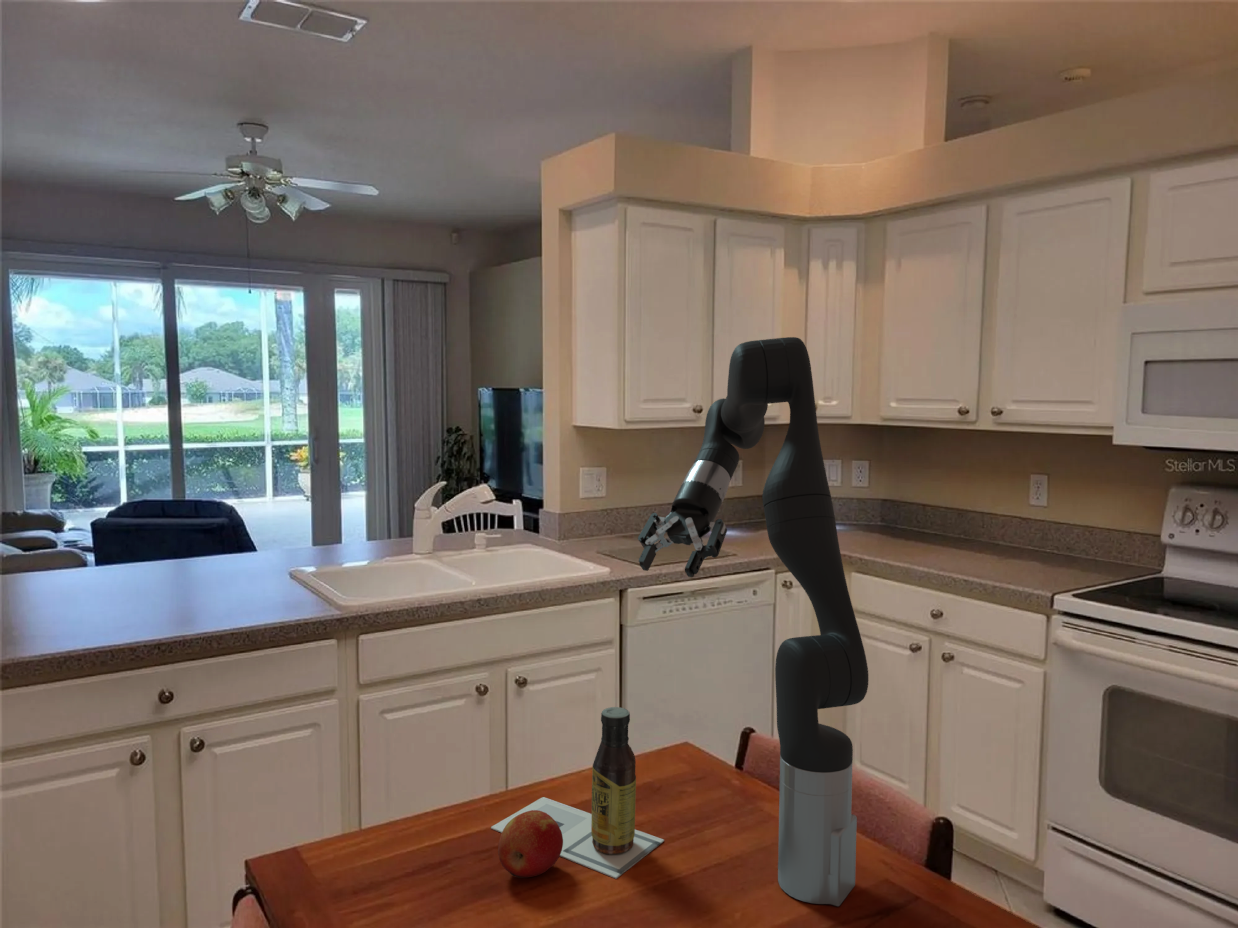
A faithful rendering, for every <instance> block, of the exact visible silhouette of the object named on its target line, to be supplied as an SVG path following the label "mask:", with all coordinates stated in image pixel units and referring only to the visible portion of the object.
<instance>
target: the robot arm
mask: <svg viewBox="0 0 1238 928" xmlns="http://www.w3.org/2000/svg"><path fill="white" fill-rule="evenodd" d="M728 365H729V366H728V376H727V387H726V388H727V389H726V390H727V391H726V392H727V393H726V394H727V395H726V397H725V398H719V399H717V400H715V401H714V402H713V403H712V404H711V405H710V407H709V408H708V410H707V413H706V417H705V423H704V424H705V425H704V434H703V441H702V444H701V447H700V449H699V452H698V453H697V455H696V457H695V460H694V462H693V464H692V465H691V467H690V469H689V470H688V472H687V473H686V475H685V477H684V479H683V481H682V483H681V485H680V487H679V489H678V491H677V493H676V495H675V498H674V499H673V502H672V503H671V508H670V509H671V510H670V512H669V514H668V515H666V516H665V517H664V516H659V515H658V514H657V513H658V512H652V513H650V516H649V518H648V520H647V521H646V522H645V525H643V526H644V527H643V528H642V529H641V532H640V533H639V535H638V537H637V540H638V541H639V543H640V545H641V546H642V548H643V550H642V552H641V554H640V556H639V558H638V563H639V566H640V567H641V569H642V570H643V571H647V572H648V571H649V569H650V568H651V566H652V565H653V561H654V559H655V558H656V556H657V552H658V551H660V550H661V549H663V548H669V546H671V545H672V544H675V545H679V544H683V545H686V546H691V545H693V547H694V549H695V550H692V551H691V554H690V556H689V558H688V560H687V562H686V565H685V567H684V572H685V574H686V575H687V577H689V578H694V577H695V575H697V574H698V573H699V571H700V569H701V567H702V564H703V562H704V560H705V559H707V558H708V557H711V558H717V557H718V556H719V554H720V552H721V549H722V546H723V543H724V541H725V538H726V536H727V532H728V528H727V527H726V526H727V525H726V524H725V522H724V520H723V519H722V518H717V519H716V517H717V515H718V513H719V511H720V508H721V506H722V504H723V502H724V499H725V498H726V495H727V492H728V490H729V486H730V483H731V481H732V479H733V476H734V475H735V472H736V469H737V467H738V465H739V463H740V454H739V452H738V450H737V449H736V447H737V448H740V449H743V450H748V449H749V450H750V449H751V448H753V447H755V446H756V445H758V443H759V442H760V440H761V438H762V436H763V434H764V431H765V423H766V422H765V420H766V419H765V416H766V414H767V412H768V408H769V404H778V403H779V404H780V403H788V406H789V424H788V428H787V431H786V432H787V433H786V435H785V437H784V441H783V444H782V446H781V448H780V451H779V453H778V455H777V457H776V458H775V460H774V463H773V464H772V468H771V469H770V470H769V473H768V476H767V479H766V480H765V483H764V486H763V491H762V507H763V512H764V519H765V524H766V531H767V535H768V537H767V538H768V541H769V543H770V545H771V548H772V549H773V550H774V552H775V555H777V557H778V558H779V559H780V561H781V562H782V563H783V565H784V566H785V567H786V568H787V570H788V571H789V572H790V573H791V575H792V576H793V577H794V578H795V580H796V581H797V582H798V583H799V585H800V586H801V587H802V589H803V590H804V591H805V593H806V595H807V596H808V599H809V600H810V602H811V605H812V607H813V611H814V614H815V617H816V621H817V624H818V628H819V629H818V630H819V634H818V635H808V636H806V635H804V636H796V637H790V638H786V639H785V640H783V641H782V642H781V644H780V645H779V647H778V649H777V653H776V657H775V667H774V669H775V670H774V672H775V673H774V674H775V675H774V676H775V680H774V681H775V696H776V697H775V701H776V702H775V703H776V726H777V734H778V740H779V750H780V751H779V793H778V794H779V797H778V798H779V800H778V801H779V803H778V804H779V805H778V807H779V808H778V846H777V847H778V855H777V857H778V859H777V860H778V861H777V869H778V870H777V882H778V885H779V888H781V890H782V891H783V892H784V893H786V894H787V895H788V896H790V897H792V898H794V899H796V900H799V901H802V902H804V903H810V904H816V905H832V906H834V907H840V906H841V905H842V903H843V902H844V901H845V900H846V898H847V897H848V895H849V894H850V892H851V891H852V890H853V889H854V888H855V886H856V868H857V867H856V864H857V863H856V861H857V860H856V859H857V858H856V857H857V853H856V852H857V824H858V823H857V822H858V819H857V816H856V815H855V814H854V813H853V814H852V804H853V803H852V801H853V800H852V797H853V796H852V795H853V794H852V793H853V791H852V790H853V759H854V758H853V757H854V755H853V753H854V751H853V750H854V749H853V742H852V739H851V738H850V737H849V736H848V735H847V734H846V733H844V732H843V731H841V730H839V729H837V728H836V727H832V726H829V725H825V724H823V723H819V712H818V711H819V710H822V709H830V708H831V709H832V708H839V707H847V706H852V705H857V704H859V703H861V702H862V701H864V699H865V697H866V695H867V693H868V689H869V667H868V661H867V656H866V651H865V646H864V643H863V640H862V636H861V632H860V629H859V625H858V622H857V617H856V615H855V612H854V607H853V603H852V599H851V597H850V593H849V588H848V583H847V579H846V574H845V571H844V565H843V564H844V563H843V560H842V555H841V548H840V543H839V536H838V531H837V523H836V522H837V521H836V517H835V511H834V505H833V501H832V499H833V498H832V494H831V490H830V485H829V483H828V482H829V480H828V476H827V473H826V472H827V471H826V467H825V463H824V462H825V461H824V457H823V451H822V446H821V441H820V434H819V427H818V418H817V409H816V399H815V390H814V380H813V372H812V365H811V360H810V355H809V351H808V347H807V346H806V344H805V342H804V341H803V340H802V339H801V338H799V337H795V336H790V337H777V338H767V339H759V340H749V341H745V342H742V343H739V344H738V345H737V346H736V347H734V350H733V351H732V353H731V355H730V360H729V364H728ZM715 519H716V520H715ZM709 532H710V534H709ZM665 534H667V537H666V538H665ZM708 534H709V535H710V536H709V537H708V540H707V543H706V545H705V544H704V543H705V542H704V540H703V537H704V536H705V535H708Z"/></svg>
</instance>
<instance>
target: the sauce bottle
mask: <svg viewBox="0 0 1238 928" xmlns="http://www.w3.org/2000/svg"><path fill="white" fill-rule="evenodd" d="M600 715H601V716H600V722H601V740H600V743H599V746H598V750H597V752H596V755H595V757H594V760H593V763H592V768H591V769H592V771H591V773H592V777H591V778H592V779H591V814H592V821H591V834H592V838H593V840H592V843H593V846H594V848H596V849H597V850H598V851H601V852H602V853H604V854H608V855H609V854H620V853H624V852H626V851H629V850H630V849H631V848H632V846H633V841H634V840H633V838H634V835H635V830H636V795H637V794H636V792H637V791H636V787H637V775H636V765H637V764H636V762H637V761H636V756H635V753H634V752H633V750H632V747H631V746H630V744H629V739H630V738H629V725H630V721H631V719H630V718H631V715H630V711H629V710H628V709H626V708H625V707H624V708H623V707H620V706H619V707H618V706H612V707H606V708H605V709H603V710H602V711H601V713H600Z"/></svg>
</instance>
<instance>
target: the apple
mask: <svg viewBox="0 0 1238 928" xmlns="http://www.w3.org/2000/svg"><path fill="white" fill-rule="evenodd" d="M562 847H563V836H562V832H561V830H560V828H559V826H558V824H557V823H556V822H555V820H554V819H553V818H552V817H551V816H550V815H548V814H547V813H545V812H542V811H539V810H531V811H527V812H524V813H522V814H519V815H517V816H516V817H514V818H513V819H512V820H511V821H509V822H508V824H507V825H506V826H505V828H504V829H503V832H502V833H501V834H500V836H499V841H498V848H497V850H498V851H497V853H498V859H499V861H500V864H501V866H502V867H503V869H505V870H506V871H507V873H509V874H510V875H512V876H513V877H515V878H518V879H528V878H532V877H536V876H540V875H542V874H543V873H545V872H546V871H548V870H549V869H550V868H552V867H553V866H554V865H555V863H556V862H557V861H558V860H559V858H560V854H561V851H562Z"/></svg>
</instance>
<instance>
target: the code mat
mask: <svg viewBox="0 0 1238 928" xmlns="http://www.w3.org/2000/svg"><path fill="white" fill-rule="evenodd" d="M531 810H539V811H542V812H545V813H547V814H548V815H550V816H551V817H552V818H553V819H554V820H555V822H556V823H557V824H558V826H559V828H560V830H561V832H562V836H563V847H562V851H561V854H560V856H559V858H560V857H561V858H563V859H566V860H569V861H570V862H573V863H576V864H578V865H581V866H583V867H585V868H589V869H591V870H593V871H595V872H598V873H601V874H603V875H605V876H608V877H611V878H613V879H616V880H617V879H618V878H619V877H620V876H623V874H625V872H627V871H628V870H629V869H631V868H633V866H635V865H636V864H637V863H639V862H640V861H641V860H642V859H644V858H645V856H647V855H648V854H650V853H651V852H653V850H654V849H656V848H657V847H659V846H660V845H661V844H663V842H665V839H663V838H660V837H658V836H654V835H652V834H649V833H647V832H644V831H641V830H637V829H635V835H634V838H633V840H634V841H633V846H632V848H631V849H630V850H629V851H626V852H624V853H620V854H609V855H608V854H604V853H602V852H601V851H598V850H597V849H596V848H594V846H593V843H592V840H593V838H592V834H591V821H592V813H590V812H588V811H584V810H582V809H578V808H575V807H573V806H570V805H567V804H565V803H561V802H559V801H556V800H553V799H550V798H548V797H545V796H543V797H540V798H538V799H537V800H535V801H533V802H532V803H530V804H528V805H527V806H524V807H523V808H521V809H520V810H518V811H516V812H515V813H513V814H511V815H509V816H508V817H506V818H504V819H502V820H500V821H499V822H497V823H496V824H494V825H491V826H490V829H491V830H493V831H496V832H499V833H501V834H502V832H503V829H504V828H505V826H506V825H507V824H508V822H509V821H511V820H512V819H513V818H514V817H516V816H517V815H519V814H522V813H524V812H527V811H531Z"/></svg>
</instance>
